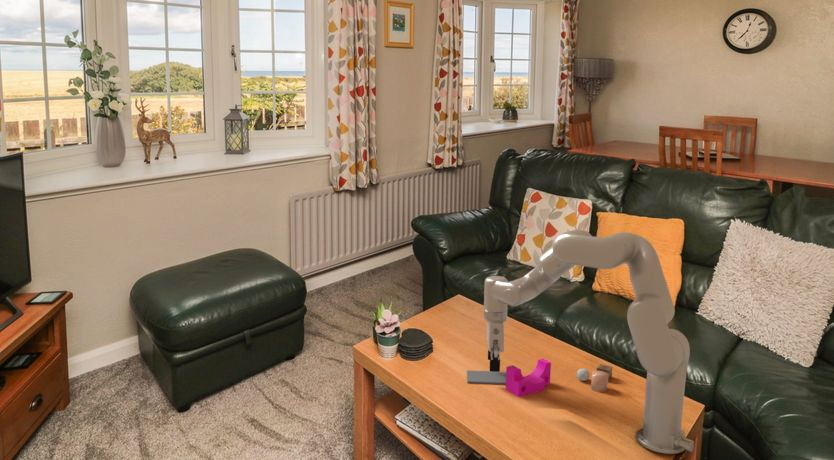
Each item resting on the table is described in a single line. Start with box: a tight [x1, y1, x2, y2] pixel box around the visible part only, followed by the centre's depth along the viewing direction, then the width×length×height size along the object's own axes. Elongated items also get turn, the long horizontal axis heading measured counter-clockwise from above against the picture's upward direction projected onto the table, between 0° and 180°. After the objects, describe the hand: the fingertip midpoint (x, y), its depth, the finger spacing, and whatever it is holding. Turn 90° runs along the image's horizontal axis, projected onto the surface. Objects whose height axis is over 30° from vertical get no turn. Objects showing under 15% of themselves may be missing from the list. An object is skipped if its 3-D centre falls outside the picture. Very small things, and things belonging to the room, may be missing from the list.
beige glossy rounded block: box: [590, 370, 609, 393], centre depth 182 cm, size 5×5×5 cm
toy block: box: [505, 358, 552, 398], centre depth 182 cm, size 15×6×8 cm, turn 120°
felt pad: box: [466, 370, 506, 386], centre depth 189 cm, size 17×9×1 cm, turn 86°
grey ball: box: [576, 368, 590, 382], centre depth 188 cm, size 4×4×4 cm
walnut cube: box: [596, 363, 613, 383], centre depth 190 cm, size 4×4×4 cm
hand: (493, 365), depth 188 cm, fingers open, 9 cm apart
